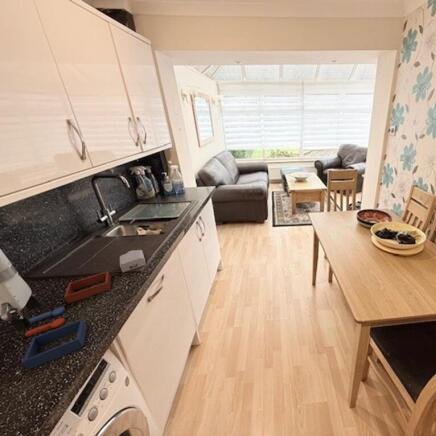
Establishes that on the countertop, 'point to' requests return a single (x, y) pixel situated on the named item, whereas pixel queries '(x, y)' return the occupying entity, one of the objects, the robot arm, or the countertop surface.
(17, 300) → the robot arm
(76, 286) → the red bin
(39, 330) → the red spoon
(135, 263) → the charger
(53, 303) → the countertop surface
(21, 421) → the countertop surface
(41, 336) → the blue bin
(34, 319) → the blue spoon
